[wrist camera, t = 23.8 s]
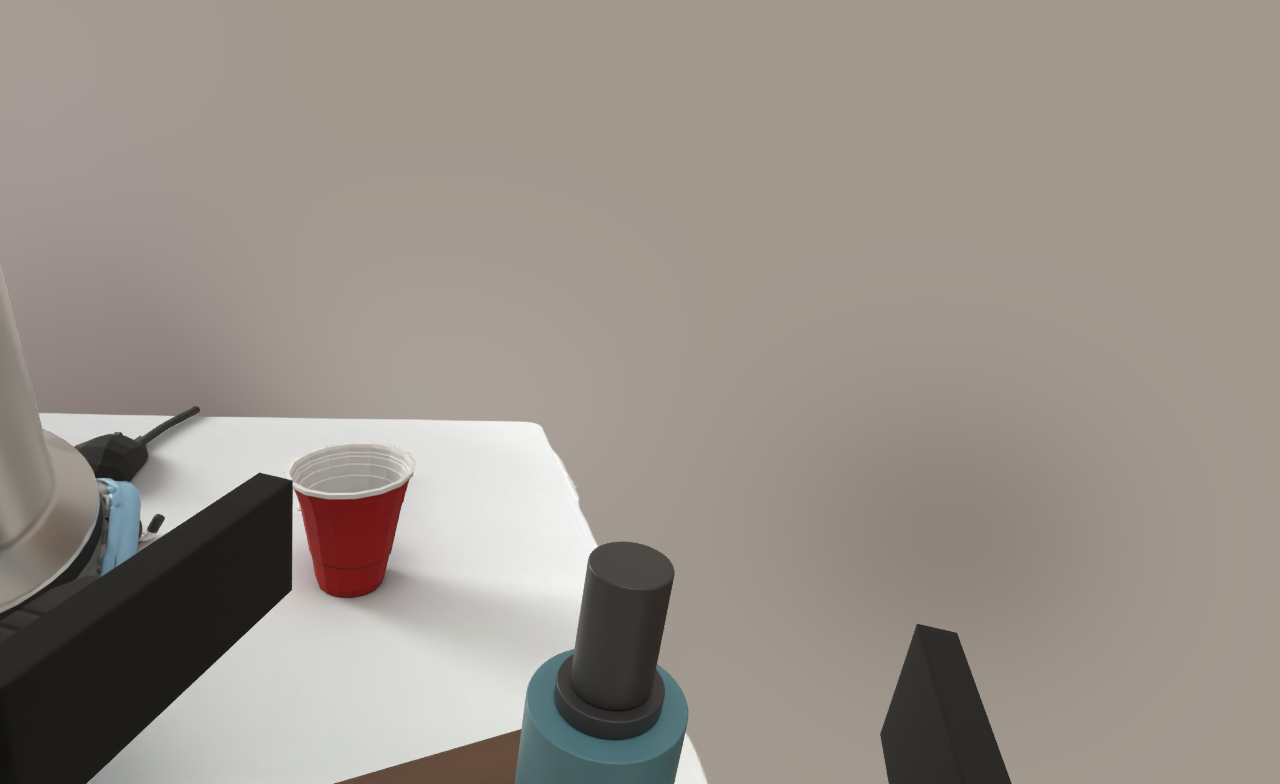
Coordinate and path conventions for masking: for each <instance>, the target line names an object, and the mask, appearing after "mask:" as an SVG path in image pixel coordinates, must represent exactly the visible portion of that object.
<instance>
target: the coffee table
mask: <svg viewBox="0 0 1280 784" xmlns="http://www.w3.org/2000/svg"><path fill="white" fill-rule="evenodd" d="M521 730H522V729H520V730H517V731H513V732H510V733H506V734H503V735H500V736H496V737H493V738H489V739H486V740H482V741H479V742H475V743H472V744H469V745H465V746H462V747H458V748H455V749H451V750H448V751H445V752H441V753H438V754H434V755H431V756H427V757H424V758H421V759H417V760H414V761H410V762H407V763H403V764H400V765H396V766H393V767H390V768H386V769H383V770H379V771H376V772H372V773H369V774H366V775H362V776H359V777H355V778H352V779H348V780H345V781H342V782H338V783H335V784H515V776H516V769H517V761H518V753H519V746H520V738H521Z"/></svg>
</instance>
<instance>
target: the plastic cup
mask: <svg viewBox="0 0 1280 784" xmlns="http://www.w3.org/2000/svg"><path fill="white" fill-rule="evenodd" d="M415 464H416V461H415V460H414V458H413V457H412V456H411V455H410V453H408V452H406V451H404V450H402V449H399V448H397V447H395V446H390V445H384V444H378V443H345V444H339V445H332V446H326V447H323V448H319V449H316V450H313V451H310V452H307V453H305V454H303V455H301V456H300V457H298V458H296V459H295V460H293V461H292V462H290V464H289V466H288V467H287V469H286V471H285V476H286V478H287V479H289V480H293V489H294V490H295V493H296V495H297V498H298V501H299V503H300V506H301V511H302V516H303V521H304V525H305V530H306V535H307V540H308V545H309V550H310V553H311V555H312V559H313V565H314V571H315V576H316V579H317V581H318V584H319V586H320V588H321V589H322V590H323V591H325V592H326V593H327V594H331V595H334V596H338V597H356V596H361V595H365V594H367V593H369V592H371V591H374V590H375V589H376V588H377V587H378V586H379V585H380V584H381V583H382V579H383V578H384V575H385V570H386V566H387V562H388V558H389V555H390V554H391V549H392V545H393V541H394V536H395V532H396V527H397V523H398V519H399V514H400V510H401V505H402V503H403V501H404V496H405V492H406V490H407V485H408V482H409V480H410V478H411V477H412V476H413V473H414V468H415Z"/></svg>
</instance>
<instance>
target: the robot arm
mask: <svg viewBox="0 0 1280 784" xmlns="http://www.w3.org/2000/svg"><path fill="white" fill-rule="evenodd" d="M199 411H200V409H199V407H197V406H195V407H193V408H191V409H189V410H187V411H185V412H183V413H181V414H179V415H177V416H175V417H173V418H171V419H169V420H168V421H166V422H164V423H162V424H161V425H159V426H157V427H156V428H154V429H153V430H151V431H150V432H148V433H147V434H146V435H144V436H143V437H142V438H140V439H139V440H138V442H140V443H142V444H144V445H146V444H147V443H148V442H150V441H151V440H152V439H154V438H155V437H156V436H158V435H159V434H161V433H162V432H164V431H165V430H167V429H169V428H170V427H172V426H174V425H176V424H178V423H180V422H182V421H184V420H185V419H187V418H189V417H191V416H193V415H195V414H197V413H198V412H199ZM292 504H293V480H289V479H284V478H280V477H276V476H271V475H267V474H263V473H258V474H257V475H255V476H254V477H252V478H251V479H249V480H248V481H246V482H245V483H243V484H242V485H240V486H238V487H237V488H235V489H234V490H232V491H231V492H229V493H228V494H226V495H225V496H223V497H222V498H220V499H219V500H217V501H216V502H214V503H213V504H211V505H210V506H208V507H206V508H205V509H203V510H202V511H200V512H199V513H197V514H196V515H194V516H193V517H191V518H190V519H188V520H187V521H185V522H184V523H182V524H181V525H179V526H178V527H176V528H175V529H173V530H171V531H170V532H168V533H167V534H165V535H164V536H162V537H161V538H159V539H158V540H156V541H155V542H153V543H152V544H150V545H149V546H147V547H146V548H144V549H143V550H141V551H139V552H138V538H139V524H140V507H141V496H140V492H139V489H138V488H137V487H136V486H135V485H134V484H133V483H130V482H126V481H114V480H113V479H111V478H108V479H107V478H99V479H96V478H95V475H94V472H93V470H92V468H91V467H90V465H89V463H88V462H87V460H86V459H85V457H84V456H83V455H82V454H81V453H80V452H79V451H78V450H77V449H75V448H74V447H73V446H72V445H70V444H69V443H68V442H66V441H65V440H64V439H62V438H60V437H58V436H57V435H55V434H53V433H51V432H49V431H46V430H44V429H42V425H41V421H40V417H39V413H38V410H37V406H36V402H35V398H34V394H33V390H32V386H31V382H30V378H29V374H28V370H27V366H26V362H25V358H24V354H23V350H22V347H21V343H20V339H19V334H18V331H17V327H16V323H15V319H14V315H13V311H12V307H11V303H10V299H9V295H8V291H7V287H6V283H5V280H4V275H3V272H2V268H1V263H0V784H86V783H87V782H88V781H90V780H91V779H92V778H93V777H94V776H95V775H96V774H97V773H98V772H99V771H100V770H101V769H102V768H103V767H104V766H105V765H107V764H108V763H109V762H110V761H111V760H112V759H113V758H114V757H115V756H116V755H117V754H118V753H119V752H120V751H121V750H122V749H123V748H125V747H126V746H127V745H128V744H129V743H130V742H131V741H132V740H133V739H134V738H135V737H136V736H137V735H138V734H139V733H140V732H142V731H143V730H144V729H145V728H146V727H147V726H148V725H149V724H150V723H151V722H152V721H153V720H154V719H155V718H156V717H157V716H159V715H160V714H161V713H162V712H163V711H164V710H165V709H166V708H167V707H168V706H169V705H170V704H171V703H172V702H173V701H174V700H176V699H177V698H178V697H179V696H180V695H181V694H182V693H183V692H184V691H185V690H186V689H187V688H188V687H189V686H190V685H191V684H192V683H194V682H195V681H196V680H197V679H198V678H199V677H200V676H201V675H202V674H203V673H204V672H205V671H206V670H207V669H208V668H209V667H211V666H212V665H213V664H214V663H215V662H216V661H217V660H218V659H219V658H220V657H221V656H222V655H223V654H224V653H225V652H226V651H228V650H229V649H230V648H231V647H232V646H233V645H234V644H235V643H236V642H237V641H238V640H239V639H240V638H241V637H242V636H243V635H244V634H246V633H247V632H248V631H249V630H250V629H251V628H252V627H253V626H254V625H255V624H256V623H257V622H258V621H259V620H260V619H261V618H263V617H264V616H265V615H266V614H267V613H268V612H269V611H270V610H271V609H272V608H273V607H274V606H275V605H276V604H277V603H278V602H280V601H281V600H282V599H283V598H284V597H285V596H286V595H287V594H288V593H289V592H290V591H291V590H292ZM137 552H138V553H137ZM880 735H881V741H882V747H883V753H884V758H885V764H886V770H887V775H888V781H889V784H1011V781H1010V778H1009V776H1008V773H1007V770H1006V767H1005V764H1004V762H1003V759H1002V756H1001V753H1000V751H999V748H998V745H997V742H996V740H995V737H994V734H993V731H992V728H991V726H990V723H989V720H988V718H987V715H986V712H985V710H984V706H983V704H982V701H981V698H980V695H979V693H978V690H977V687H976V684H975V682H974V679H973V676H972V674H971V670H970V668H969V665H968V662H967V659H966V657H965V654H964V651H963V648H962V646H961V643H960V640H959V637H958V635H957V633H955V632H951V631H946V630H942V629H937V628H933V627H929V626H924V625H920V624H917V625H916V629H915V631H914V635H913V637H912V641H911V644H910V647H909V650H908V653H907V656H906V659H905V662H904V665H903V668H902V671H901V674H900V677H899V680H898V683H897V686H896V689H895V692H894V695H893V698H892V701H891V704H890V707H889V710H888V713H887V716H886V719H885V722H884V725H883V728H882V731H881V734H880Z"/></svg>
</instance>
